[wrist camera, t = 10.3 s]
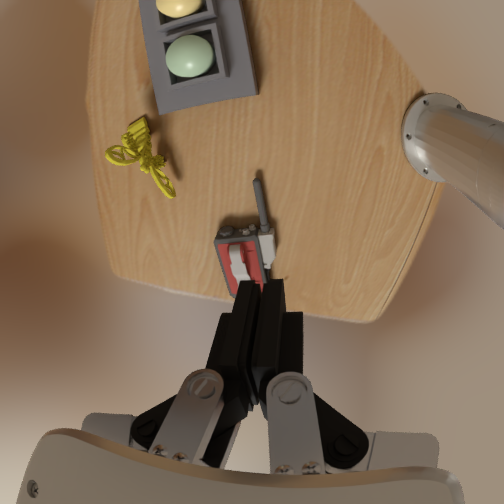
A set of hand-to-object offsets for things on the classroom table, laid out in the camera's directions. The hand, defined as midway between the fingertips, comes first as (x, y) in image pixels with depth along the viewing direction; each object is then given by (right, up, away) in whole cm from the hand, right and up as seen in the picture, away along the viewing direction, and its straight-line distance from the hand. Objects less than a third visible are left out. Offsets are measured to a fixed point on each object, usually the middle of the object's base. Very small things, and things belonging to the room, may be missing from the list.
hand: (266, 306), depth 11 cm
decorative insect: (-14, +16, +25) cm, 33 cm away
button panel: (-8, +33, +12) cm, 36 cm away
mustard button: (-8, +31, +9) cm, 33 cm away
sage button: (-7, +24, +14) cm, 28 cm away
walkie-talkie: (-1, +4, +31) cm, 31 cm away
